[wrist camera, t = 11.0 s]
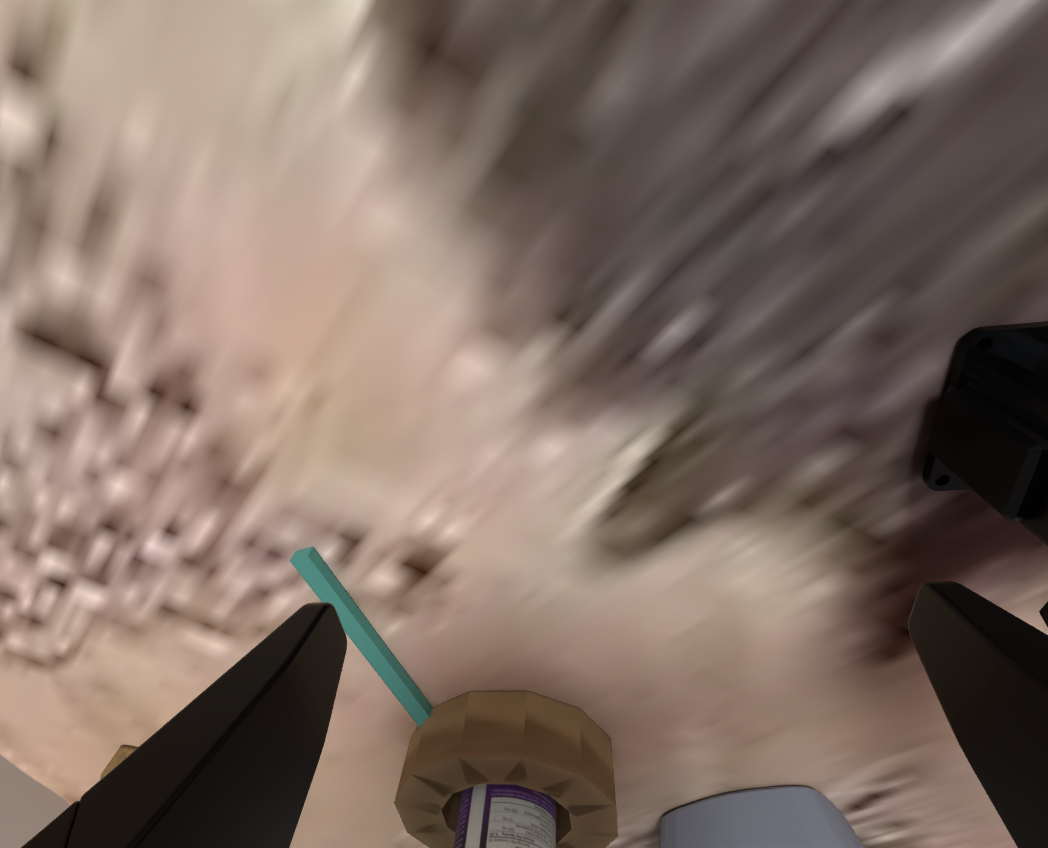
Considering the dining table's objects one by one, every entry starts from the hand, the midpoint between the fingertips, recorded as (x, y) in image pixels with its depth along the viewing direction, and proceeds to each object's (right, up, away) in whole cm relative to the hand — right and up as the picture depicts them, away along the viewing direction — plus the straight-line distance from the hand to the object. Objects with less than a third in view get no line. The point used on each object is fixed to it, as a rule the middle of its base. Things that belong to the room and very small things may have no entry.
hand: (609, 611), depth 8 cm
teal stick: (-9, -9, +20) cm, 24 cm away
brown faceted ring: (-2, -17, +24) cm, 29 cm away
